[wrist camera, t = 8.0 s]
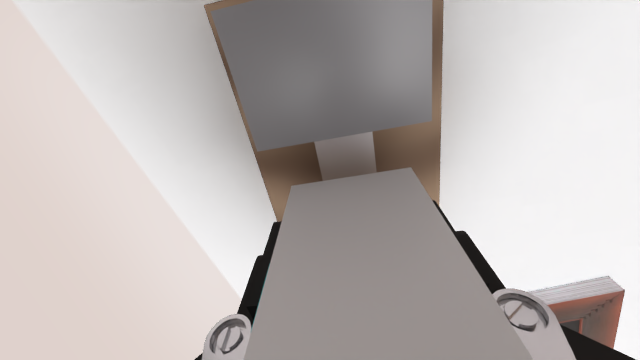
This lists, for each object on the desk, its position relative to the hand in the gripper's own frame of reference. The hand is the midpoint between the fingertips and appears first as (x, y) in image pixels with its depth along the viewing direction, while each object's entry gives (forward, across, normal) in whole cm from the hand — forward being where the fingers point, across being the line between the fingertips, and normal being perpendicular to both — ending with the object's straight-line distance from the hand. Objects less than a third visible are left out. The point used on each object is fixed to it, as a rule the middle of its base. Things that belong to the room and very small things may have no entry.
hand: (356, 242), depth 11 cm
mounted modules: (+7, 0, 0) cm, 7 cm away
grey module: (+1, 0, 0) cm, 1 cm away
